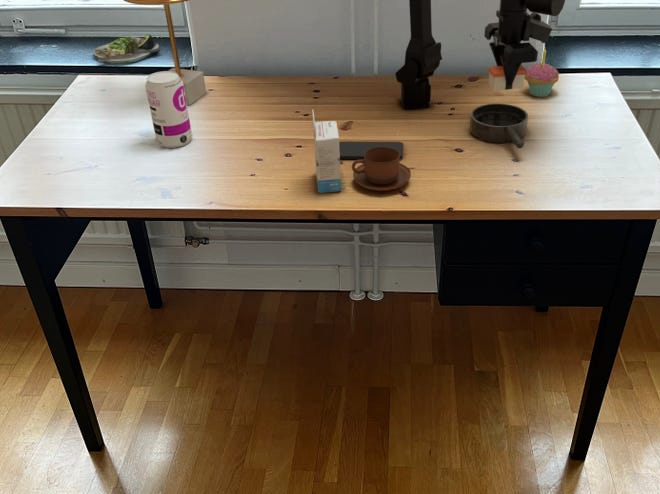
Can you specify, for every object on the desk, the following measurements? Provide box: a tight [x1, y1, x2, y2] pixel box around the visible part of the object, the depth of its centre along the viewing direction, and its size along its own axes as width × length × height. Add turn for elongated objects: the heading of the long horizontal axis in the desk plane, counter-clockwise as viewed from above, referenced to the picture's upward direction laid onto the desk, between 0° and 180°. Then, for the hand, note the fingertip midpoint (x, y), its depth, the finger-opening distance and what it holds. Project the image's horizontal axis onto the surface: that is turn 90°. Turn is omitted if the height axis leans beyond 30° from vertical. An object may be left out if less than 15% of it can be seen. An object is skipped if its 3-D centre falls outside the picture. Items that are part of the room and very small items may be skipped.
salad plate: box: [92, 33, 163, 65], centre depth 222 cm, size 19×18×5 cm
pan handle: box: [505, 127, 525, 150], centre depth 169 cm, size 9×2×2 cm, turn 10°
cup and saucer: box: [351, 147, 412, 192], centre depth 160 cm, size 12×12×6 cm
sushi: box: [487, 64, 527, 92], centre depth 172 cm, size 7×4×4 cm, turn 99°
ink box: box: [311, 108, 342, 194], centre depth 158 cm, size 9×5×15 cm, turn 5°
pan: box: [468, 103, 529, 144], centre depth 178 cm, size 13×13×4 cm
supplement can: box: [145, 70, 193, 149], centre depth 175 cm, size 8×8×15 cm
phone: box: [339, 141, 404, 160], centre depth 173 cm, size 7×1×15 cm
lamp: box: [123, 0, 207, 106], centre depth 187 cm, size 21×21×41 cm
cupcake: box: [524, 47, 560, 98], centre depth 192 cm, size 9×8×12 cm
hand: (506, 81), depth 173 cm, fingers closed on sushi, 4 cm apart
